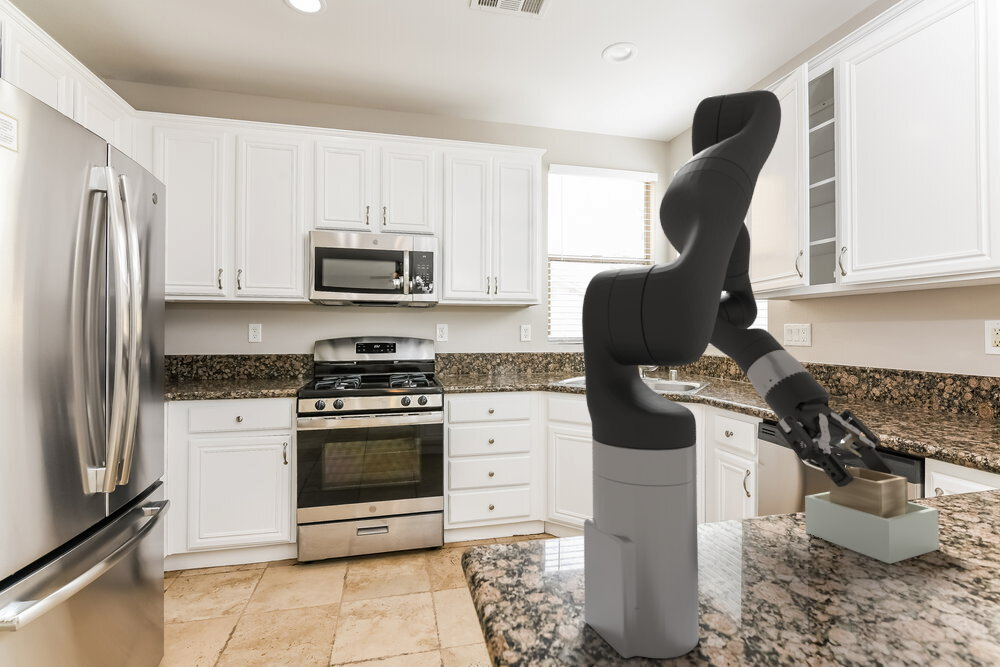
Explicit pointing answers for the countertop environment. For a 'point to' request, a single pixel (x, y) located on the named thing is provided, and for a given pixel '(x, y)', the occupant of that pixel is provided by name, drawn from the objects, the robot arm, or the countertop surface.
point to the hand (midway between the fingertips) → (868, 480)
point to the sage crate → (873, 529)
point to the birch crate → (872, 493)
